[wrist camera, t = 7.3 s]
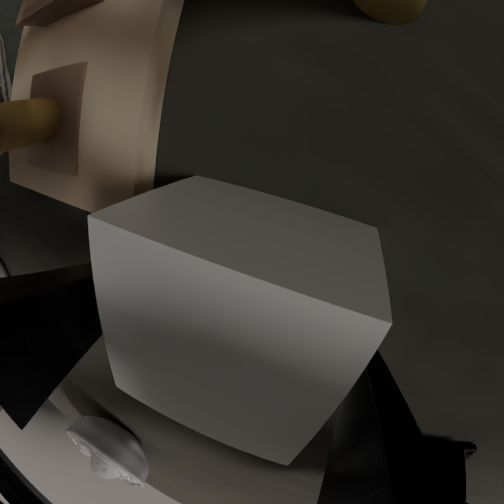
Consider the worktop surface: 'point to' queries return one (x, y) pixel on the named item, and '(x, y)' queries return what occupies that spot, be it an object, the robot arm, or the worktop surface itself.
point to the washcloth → (4, 77)
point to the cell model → (110, 449)
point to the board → (88, 98)
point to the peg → (392, 10)
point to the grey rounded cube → (237, 309)
